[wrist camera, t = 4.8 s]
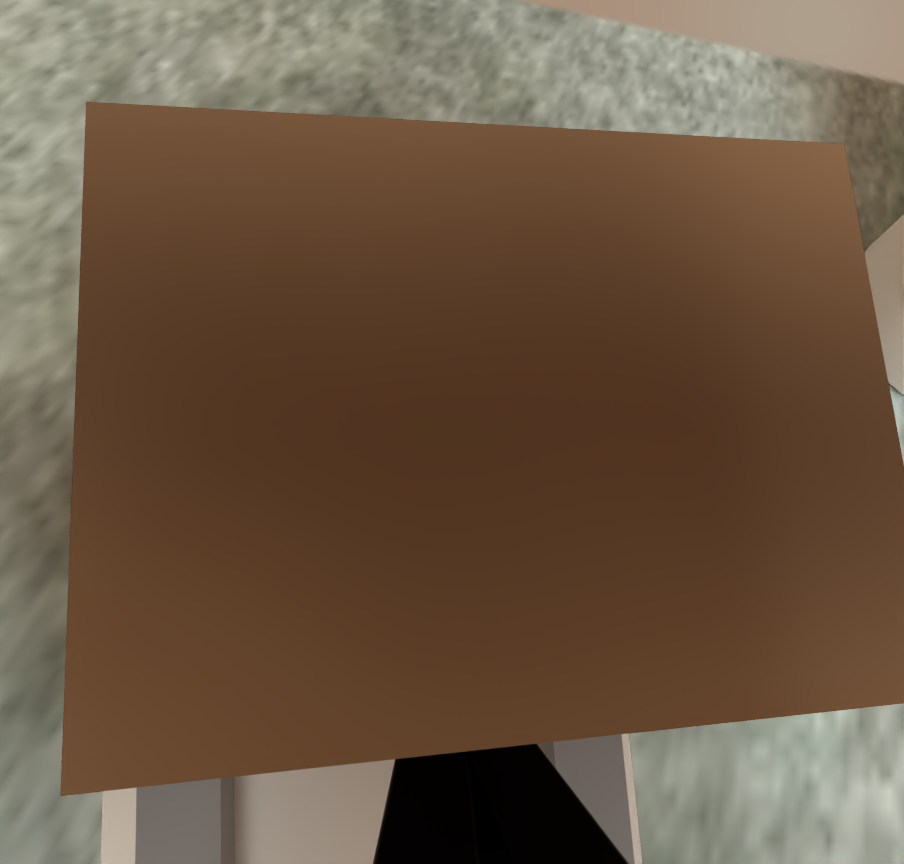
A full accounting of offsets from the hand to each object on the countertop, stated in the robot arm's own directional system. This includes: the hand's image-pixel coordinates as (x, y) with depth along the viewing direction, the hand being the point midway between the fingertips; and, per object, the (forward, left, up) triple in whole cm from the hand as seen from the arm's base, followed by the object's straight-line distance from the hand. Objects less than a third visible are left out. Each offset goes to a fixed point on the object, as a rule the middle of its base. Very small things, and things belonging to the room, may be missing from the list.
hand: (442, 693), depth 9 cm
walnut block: (+2, -2, -9) cm, 9 cm away
